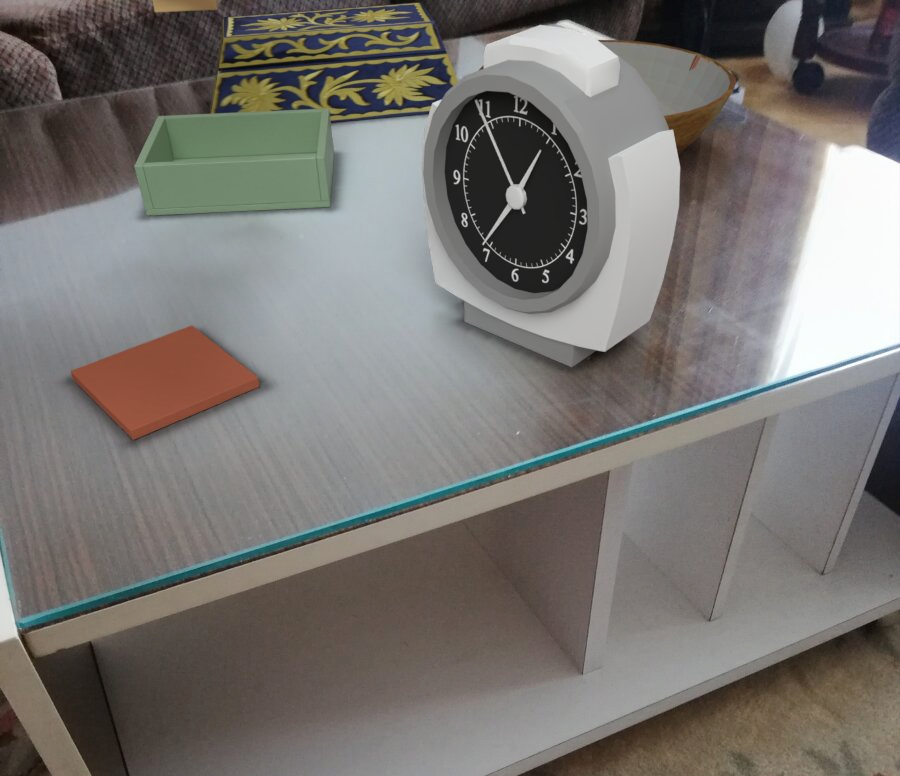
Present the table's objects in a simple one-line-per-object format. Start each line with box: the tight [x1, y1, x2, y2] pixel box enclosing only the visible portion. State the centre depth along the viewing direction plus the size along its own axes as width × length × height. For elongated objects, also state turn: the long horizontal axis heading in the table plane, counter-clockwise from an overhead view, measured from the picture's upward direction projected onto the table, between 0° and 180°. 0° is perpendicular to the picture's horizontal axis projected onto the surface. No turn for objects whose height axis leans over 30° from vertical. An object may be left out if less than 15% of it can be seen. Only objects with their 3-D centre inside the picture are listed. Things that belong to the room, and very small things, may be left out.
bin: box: [133, 109, 335, 216], centre depth 91 cm, size 18×14×5 cm
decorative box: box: [209, 1, 459, 123], centre depth 105 cm, size 11×30×9 cm, turn 101°
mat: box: [70, 324, 260, 441], centre depth 67 cm, size 10×10×1 cm
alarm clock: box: [421, 24, 681, 368], centre depth 64 cm, size 18×8×20 cm, turn 48°
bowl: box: [477, 39, 737, 155], centre depth 92 cm, size 25×25×8 cm
